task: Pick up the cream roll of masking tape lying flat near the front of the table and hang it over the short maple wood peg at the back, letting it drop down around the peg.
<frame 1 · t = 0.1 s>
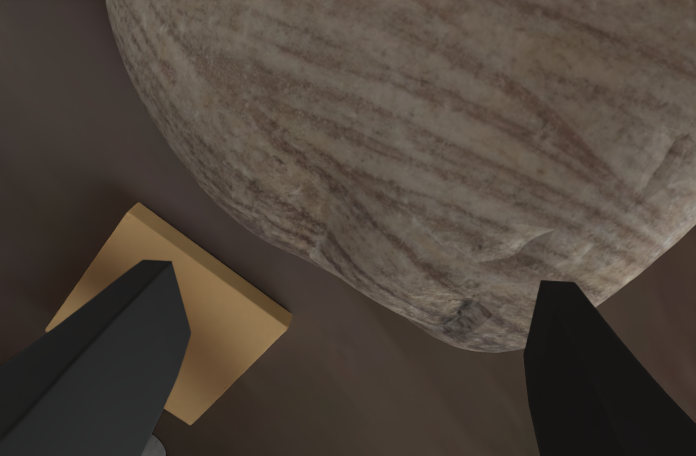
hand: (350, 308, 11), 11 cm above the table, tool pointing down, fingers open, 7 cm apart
stone: (410, 30, 19), on the table
peg stand: (171, 316, 25), on the table
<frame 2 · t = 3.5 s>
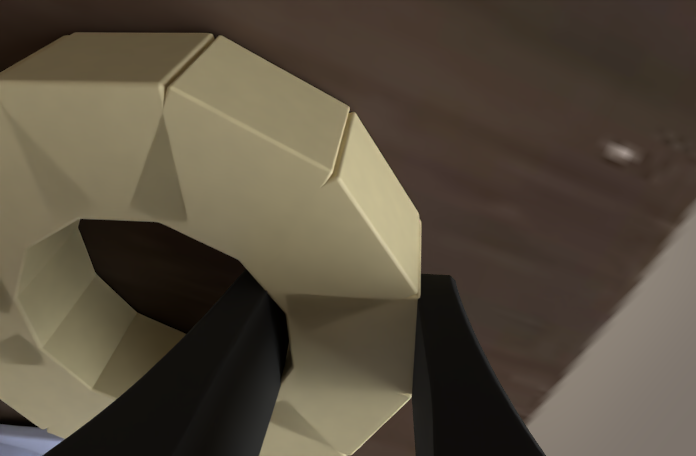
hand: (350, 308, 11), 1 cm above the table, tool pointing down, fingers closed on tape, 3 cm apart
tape: (196, 255, 13), on the table, touching gripper
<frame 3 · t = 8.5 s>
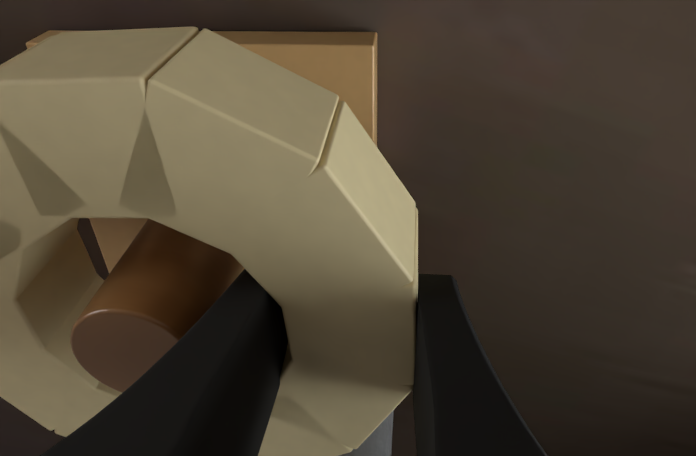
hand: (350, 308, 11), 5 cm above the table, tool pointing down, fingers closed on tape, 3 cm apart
peg stand: (232, 177, 15), on the table
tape: (195, 252, 13), point 3 cm above the table, touching gripper
when the fingers open (8 cm above the table, at t = 20.1 s): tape drops 6 cm, resting on peg stand.
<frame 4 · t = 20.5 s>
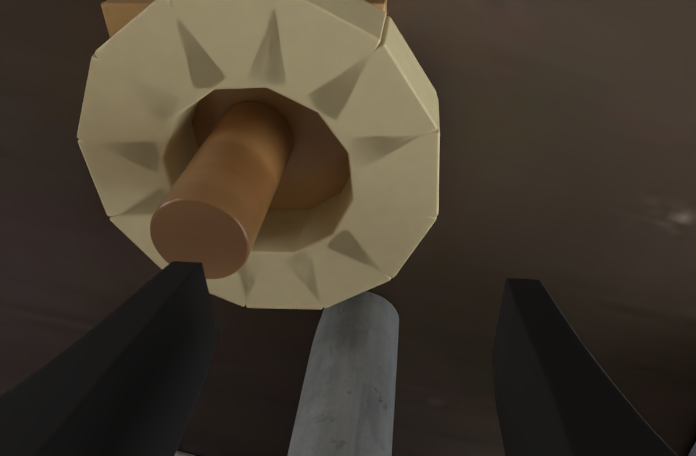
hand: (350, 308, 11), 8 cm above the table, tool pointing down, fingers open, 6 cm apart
peg stand: (263, 122, 18), on the table
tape: (276, 139, 17), point 1 cm above the table, touching peg stand
hip flask: (341, 407, 27), on the table
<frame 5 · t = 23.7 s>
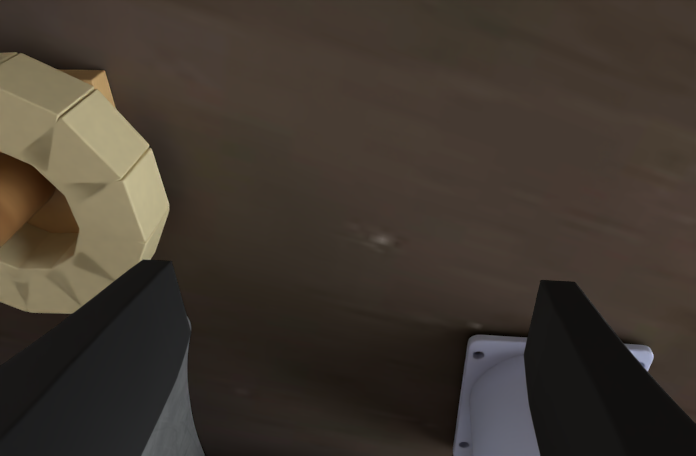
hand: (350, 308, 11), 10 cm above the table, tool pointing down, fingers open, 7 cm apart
peg stand: (40, 164, 23), on the table
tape: (41, 179, 22), point 1 cm above the table, touching peg stand
hip flask: (168, 396, 31), on the table
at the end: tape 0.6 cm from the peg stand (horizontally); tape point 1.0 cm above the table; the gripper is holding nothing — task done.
